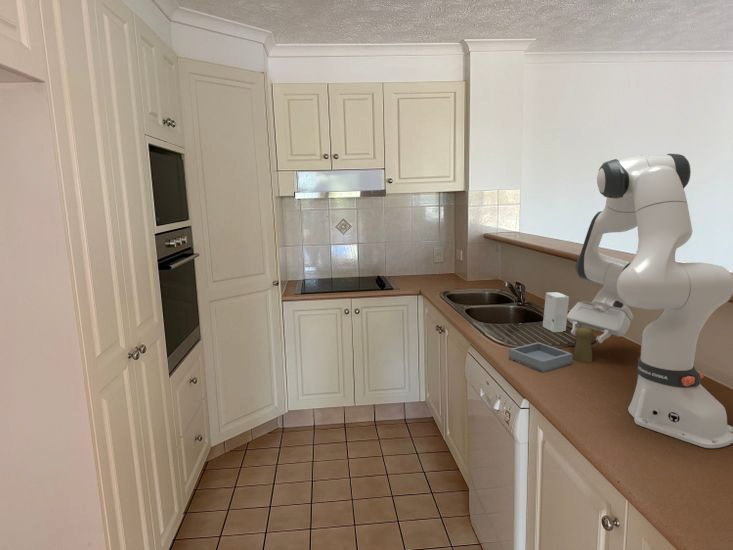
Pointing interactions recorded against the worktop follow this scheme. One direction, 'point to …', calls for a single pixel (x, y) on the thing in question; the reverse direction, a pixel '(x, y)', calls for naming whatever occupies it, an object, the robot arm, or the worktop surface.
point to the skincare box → (555, 311)
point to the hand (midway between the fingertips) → (585, 338)
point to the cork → (583, 345)
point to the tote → (541, 356)
